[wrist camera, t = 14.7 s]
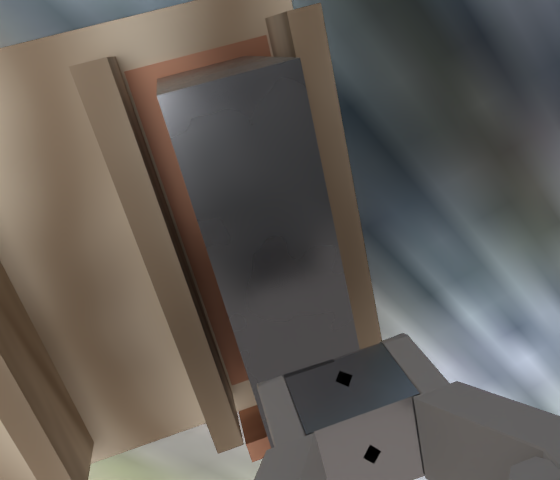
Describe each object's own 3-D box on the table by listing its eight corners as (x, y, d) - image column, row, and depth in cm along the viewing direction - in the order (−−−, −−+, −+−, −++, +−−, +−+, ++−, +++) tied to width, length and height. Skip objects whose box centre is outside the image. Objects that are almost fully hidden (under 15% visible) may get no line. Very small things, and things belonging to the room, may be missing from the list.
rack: (280, -18, 17) (313, -38, 13) (360, 370, 24) (397, 428, 20) (-328, 131, 15) (-489, 157, 11) (-47, 515, 21) (-89, 610, 18)
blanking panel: (244, 55, 16) (300, 57, 10) (316, 345, 21) (384, 471, 15) (157, 79, 16) (156, 95, 10) (249, 368, 21) (290, 507, 14)
